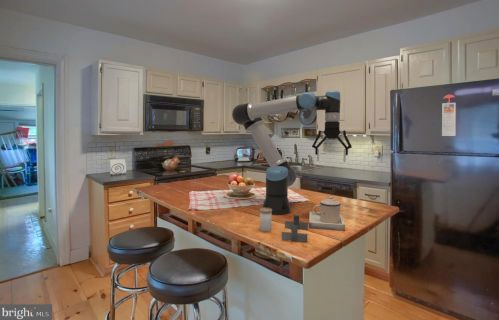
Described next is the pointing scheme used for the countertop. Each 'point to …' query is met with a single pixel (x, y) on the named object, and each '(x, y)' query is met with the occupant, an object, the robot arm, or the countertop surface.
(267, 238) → the countertop surface
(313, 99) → the robot arm
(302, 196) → the countertop surface
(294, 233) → the clip cradle
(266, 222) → the jar
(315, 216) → the tray
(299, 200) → the countertop surface
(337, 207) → the teacup with lid
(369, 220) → the countertop surface
